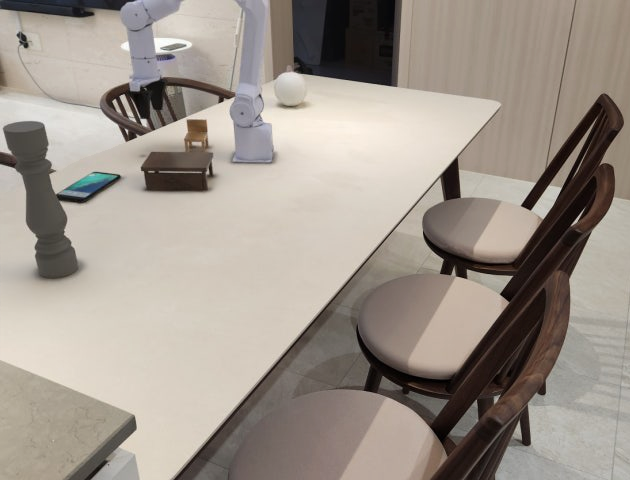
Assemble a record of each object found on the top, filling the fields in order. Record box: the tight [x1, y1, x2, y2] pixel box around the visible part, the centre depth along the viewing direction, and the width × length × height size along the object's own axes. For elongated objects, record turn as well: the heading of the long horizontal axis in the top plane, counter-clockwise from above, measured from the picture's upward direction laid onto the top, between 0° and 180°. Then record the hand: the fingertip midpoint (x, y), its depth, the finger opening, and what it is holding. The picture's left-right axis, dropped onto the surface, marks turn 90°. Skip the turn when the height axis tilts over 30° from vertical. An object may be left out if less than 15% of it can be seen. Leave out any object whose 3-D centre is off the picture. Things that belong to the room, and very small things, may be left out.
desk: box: [140, 151, 214, 192], centre depth 143 cm, size 14×10×6 cm
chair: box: [183, 118, 209, 152], centre depth 161 cm, size 5×6×7 cm
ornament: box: [273, 65, 308, 107], centre depth 199 cm, size 10×10×12 cm
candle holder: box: [2, 120, 79, 279], centre depth 103 cm, size 6×6×25 cm
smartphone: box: [55, 171, 122, 203], centre depth 139 cm, size 7×1×15 cm
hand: (151, 114), depth 156 cm, fingers open, 7 cm apart
